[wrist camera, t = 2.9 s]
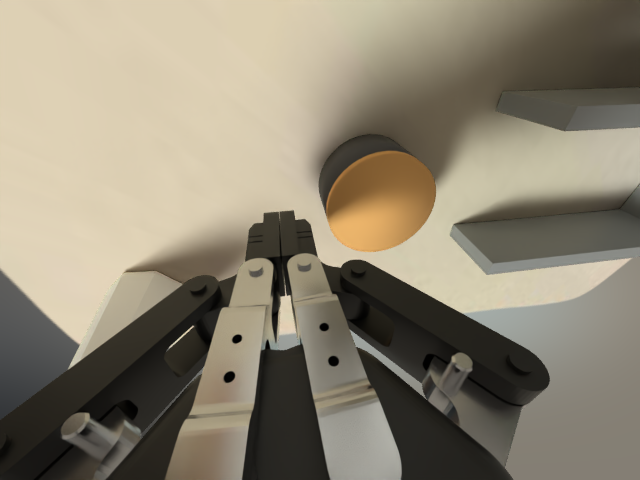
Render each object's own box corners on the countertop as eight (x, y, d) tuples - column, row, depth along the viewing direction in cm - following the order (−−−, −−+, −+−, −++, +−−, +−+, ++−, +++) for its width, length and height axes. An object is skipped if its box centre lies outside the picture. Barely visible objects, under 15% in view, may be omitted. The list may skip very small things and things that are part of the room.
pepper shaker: (158, 258, 18) (50, 461, 9) (204, 303, 21) (156, 484, 12) (90, 283, 18) (-76, 500, 10) (145, 324, 22) (60, 512, 13)
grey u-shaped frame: (504, 87, 14) (592, 103, 10) (738, 80, 16) (888, 91, 12) (449, 235, 20) (491, 280, 17) (623, 218, 22) (698, 255, 18)
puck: (318, 136, 15) (328, 157, 12) (418, 131, 15) (449, 150, 13) (318, 224, 18) (327, 256, 15) (399, 217, 19) (421, 247, 16)
